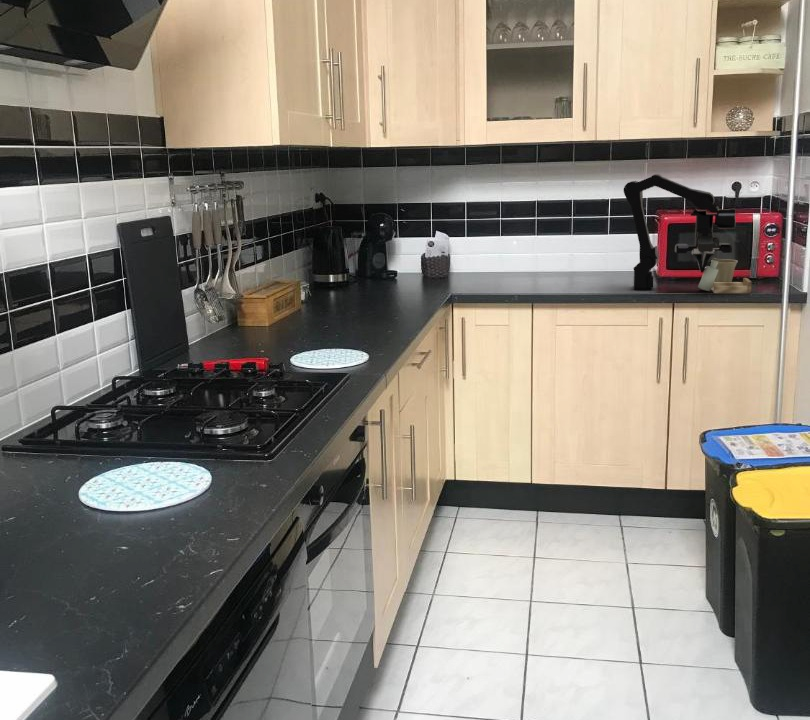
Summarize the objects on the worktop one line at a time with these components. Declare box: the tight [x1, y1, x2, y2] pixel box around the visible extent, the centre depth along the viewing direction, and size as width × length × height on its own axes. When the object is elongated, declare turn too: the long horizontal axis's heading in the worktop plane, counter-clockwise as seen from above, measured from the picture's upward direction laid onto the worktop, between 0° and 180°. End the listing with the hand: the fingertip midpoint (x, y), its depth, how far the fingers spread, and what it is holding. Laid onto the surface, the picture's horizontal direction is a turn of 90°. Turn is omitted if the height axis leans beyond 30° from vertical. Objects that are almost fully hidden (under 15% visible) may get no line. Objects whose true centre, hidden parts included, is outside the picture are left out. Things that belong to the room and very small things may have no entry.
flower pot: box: [710, 258, 738, 282], centre depth 313 cm, size 9×9×9 cm
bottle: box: [697, 257, 720, 292], centre depth 298 cm, size 4×4×12 cm
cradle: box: [710, 277, 752, 294], centre depth 298 cm, size 12×9×4 cm
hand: (701, 272), depth 299 cm, fingers closed
